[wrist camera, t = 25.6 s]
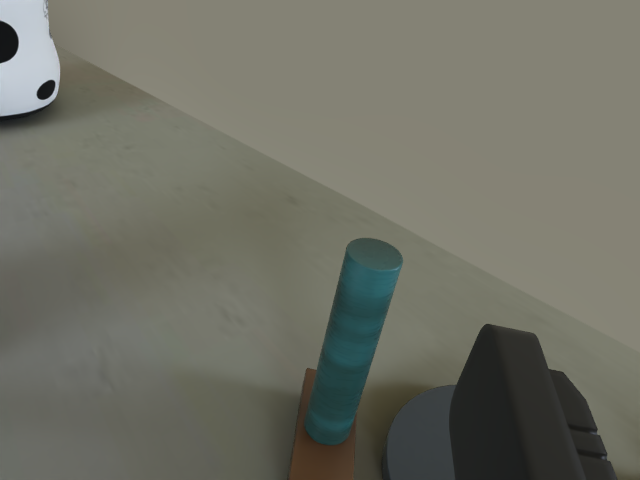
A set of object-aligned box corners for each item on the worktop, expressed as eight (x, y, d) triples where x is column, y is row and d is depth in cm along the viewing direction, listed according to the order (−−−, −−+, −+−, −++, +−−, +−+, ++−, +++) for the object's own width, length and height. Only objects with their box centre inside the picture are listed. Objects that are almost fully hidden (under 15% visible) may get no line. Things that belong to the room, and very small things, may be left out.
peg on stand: (343, 526, 32) (414, 319, 24) (280, 514, 32) (332, 302, 24) (350, 403, 40) (407, 215, 32) (300, 393, 40) (344, 203, 32)
